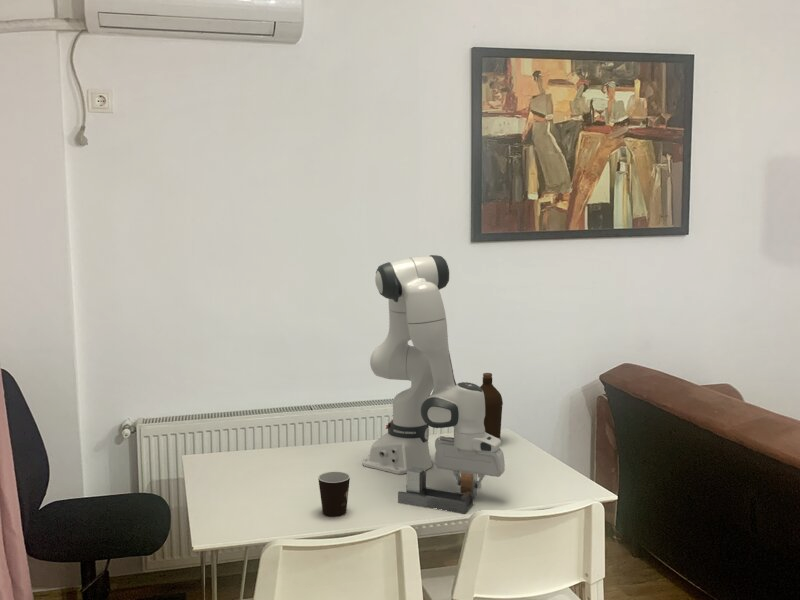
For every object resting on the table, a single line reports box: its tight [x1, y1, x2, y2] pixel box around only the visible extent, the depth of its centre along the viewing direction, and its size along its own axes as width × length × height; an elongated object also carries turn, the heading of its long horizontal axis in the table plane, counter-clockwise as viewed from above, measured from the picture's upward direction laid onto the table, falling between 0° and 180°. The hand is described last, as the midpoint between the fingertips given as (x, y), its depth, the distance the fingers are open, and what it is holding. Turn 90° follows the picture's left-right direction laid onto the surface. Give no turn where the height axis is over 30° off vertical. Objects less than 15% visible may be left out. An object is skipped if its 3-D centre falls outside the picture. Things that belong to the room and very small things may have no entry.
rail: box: [397, 467, 474, 515], centre depth 215 cm, size 20×7×9 cm, turn 67°
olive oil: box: [479, 372, 504, 440], centre depth 269 cm, size 11×11×25 cm
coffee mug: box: [317, 471, 351, 518], centre depth 210 cm, size 12×9×10 cm
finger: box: [459, 471, 478, 501], centre depth 220 cm, size 4×4×8 cm
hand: (468, 486), depth 220 cm, fingers closed on finger, 4 cm apart
